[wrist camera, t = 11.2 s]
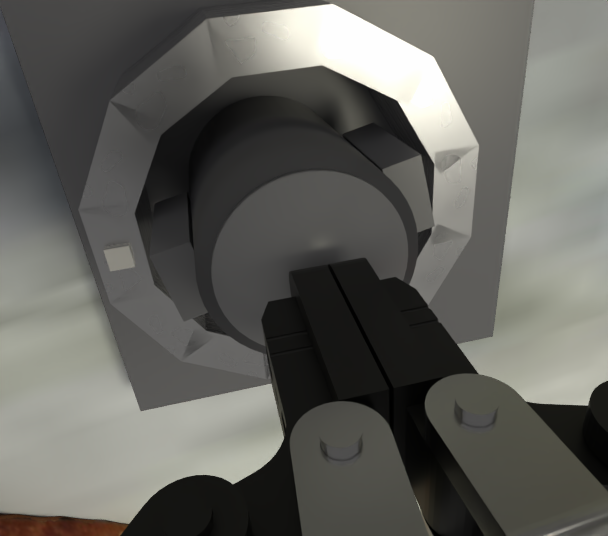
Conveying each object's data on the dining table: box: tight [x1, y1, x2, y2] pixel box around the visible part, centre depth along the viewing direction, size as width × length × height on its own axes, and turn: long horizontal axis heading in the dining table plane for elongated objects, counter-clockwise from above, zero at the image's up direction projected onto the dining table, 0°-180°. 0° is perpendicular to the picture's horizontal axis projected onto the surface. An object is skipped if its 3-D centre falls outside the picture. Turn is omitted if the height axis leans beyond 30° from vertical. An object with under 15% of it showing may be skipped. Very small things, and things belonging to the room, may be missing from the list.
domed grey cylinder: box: [149, 96, 435, 354], centre depth 13 cm, size 6×5×6 cm
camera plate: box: [0, 0, 535, 411], centre depth 15 cm, size 14×20×3 cm
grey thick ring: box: [78, 0, 479, 379], centre depth 15 cm, size 10×10×3 cm
